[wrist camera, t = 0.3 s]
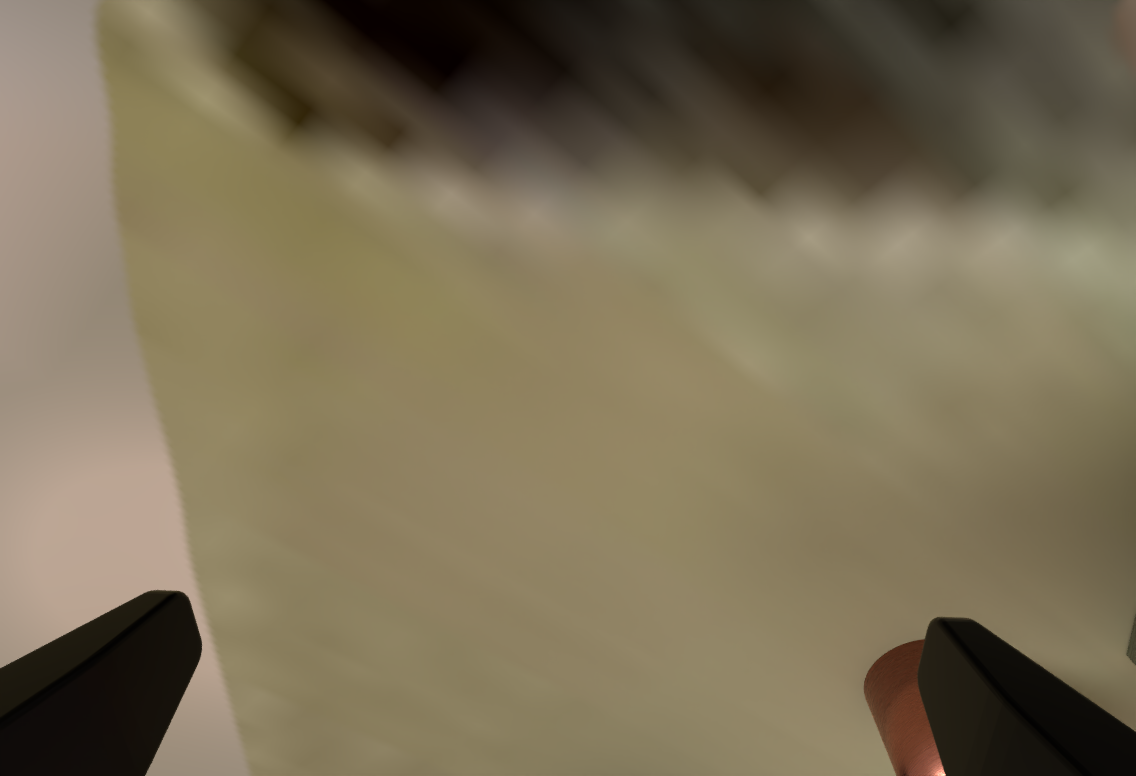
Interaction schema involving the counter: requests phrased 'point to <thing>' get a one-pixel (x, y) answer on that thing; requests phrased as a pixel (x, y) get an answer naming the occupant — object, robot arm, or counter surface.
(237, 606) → the counter surface
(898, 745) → the spout can
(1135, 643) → the grey piece
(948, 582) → the counter surface
